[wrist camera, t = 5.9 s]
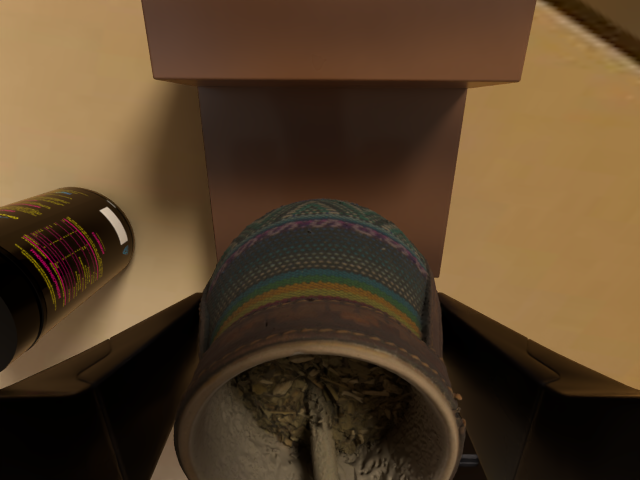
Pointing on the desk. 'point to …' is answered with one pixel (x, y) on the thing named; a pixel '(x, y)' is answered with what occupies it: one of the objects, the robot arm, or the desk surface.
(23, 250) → the supplement container
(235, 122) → the step shelf
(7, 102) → the desk surface
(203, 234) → the desk surface
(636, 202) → the desk surface
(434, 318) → the mate gourd
